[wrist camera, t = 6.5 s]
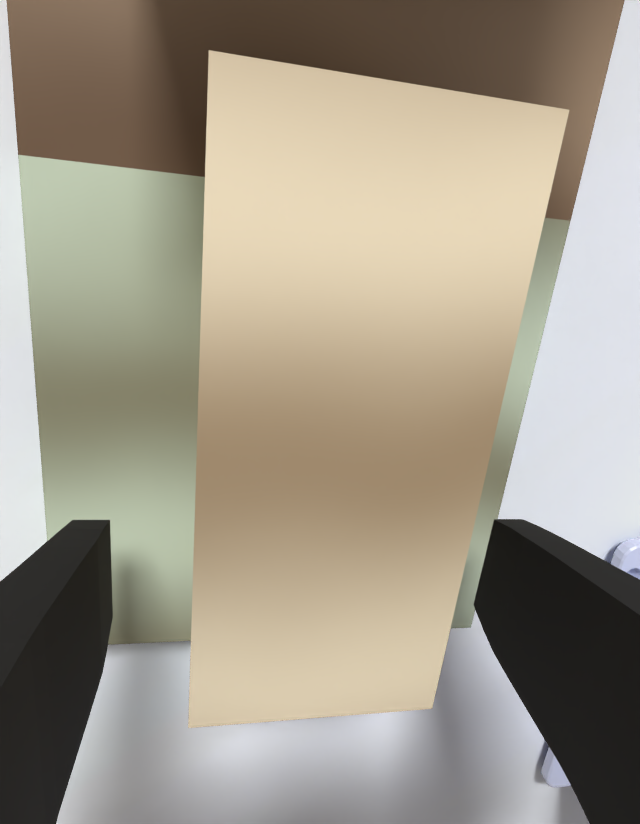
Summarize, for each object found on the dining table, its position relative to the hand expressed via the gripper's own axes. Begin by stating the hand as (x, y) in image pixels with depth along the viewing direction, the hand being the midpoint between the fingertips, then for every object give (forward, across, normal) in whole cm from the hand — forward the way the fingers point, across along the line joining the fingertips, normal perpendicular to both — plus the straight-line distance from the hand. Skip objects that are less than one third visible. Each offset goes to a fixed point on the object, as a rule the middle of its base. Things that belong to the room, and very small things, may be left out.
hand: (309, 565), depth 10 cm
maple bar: (+2, 0, -3) cm, 4 cm away
